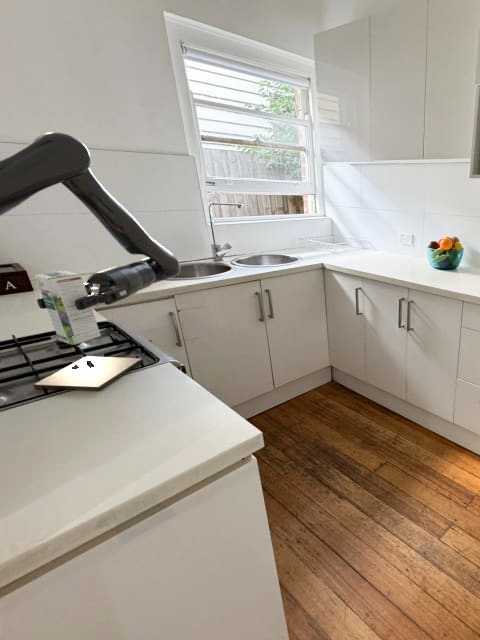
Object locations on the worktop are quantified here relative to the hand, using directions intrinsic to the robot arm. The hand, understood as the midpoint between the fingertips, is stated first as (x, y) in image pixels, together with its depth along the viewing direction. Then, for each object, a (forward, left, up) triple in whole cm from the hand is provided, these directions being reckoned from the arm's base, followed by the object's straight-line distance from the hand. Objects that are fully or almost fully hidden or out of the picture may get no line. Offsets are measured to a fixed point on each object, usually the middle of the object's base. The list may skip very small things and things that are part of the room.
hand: (58, 304), depth 78 cm
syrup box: (0, +2, -9) cm, 9 cm away
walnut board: (0, +2, -18) cm, 18 cm away
